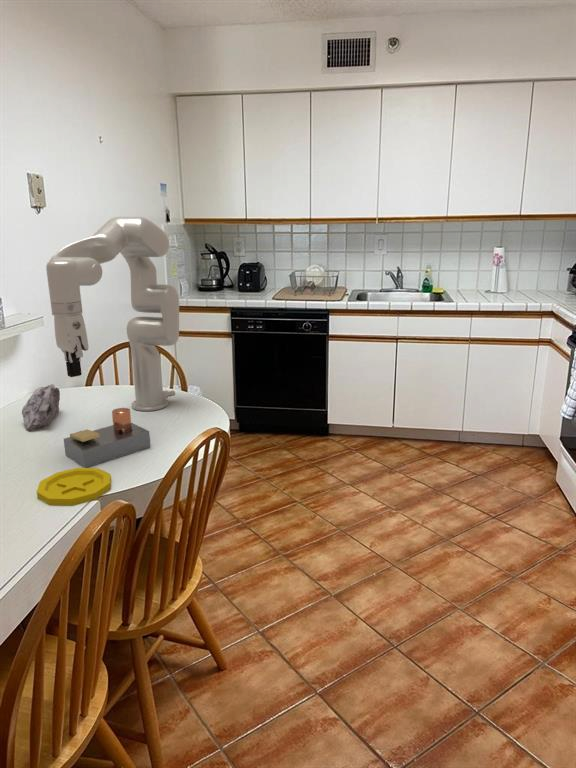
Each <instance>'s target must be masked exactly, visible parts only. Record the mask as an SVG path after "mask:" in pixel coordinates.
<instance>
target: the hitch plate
mask: <svg viewBox="0 0 576 768" xmlns="http://www.w3.org/2000/svg"><path fill="white" fill-rule="evenodd" d="M131 426H132V430H131V431H130V432H127V433H122V434H119V433H115V432H114V427H113V424H112V425H109V426H105V427H102V428H98V429H94V430H93V431H94V432H97V433H99V435H100V437H98V438H94V439H91V440H87V441H84V442H82V441H79V440H76V439H74V438H71V437H70V436H69V437H66V438H63V446H64V453H65V456H66V457H68V458H69V459H70V458H71V460H72V461H73V460H74V461H73V462H75V463H77V464H78V465H79V466H81V468H91V467H93V466H96V465H99V464H102V463H105V462H109V461H112V460H116V459H119V458H122V457H125V456H128V455H131V454H135V453H137V452H141V451H143V450H146V449H151V438H150V436H151V435H150V430H148V429H146V428H143V427H142V426H139V425H138V424H135V423H133V422H131Z"/></svg>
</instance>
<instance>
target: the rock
mask: <svg viewBox="0 0 576 768" xmlns="http://www.w3.org/2000/svg"><path fill="white" fill-rule="evenodd" d="M60 392H61V391H60V389H59V388H58V387H55V384H48V385H47V386H39V387H37V388H35V390H34V391H33V393H32V394H31V395H30V397H29V398H28V399H27V402H26V403H25V405H24V406H23V407H22V409H21V415H22V418H23V424H24V428H25V430H26V431H33V430H37V429H39V428H41V427H48V426H49V425H50V424H51V422H52V421H53V420H54V419H55V418H56V416H57V414H59V411H60V400H61V398H60V397H61V393H60Z"/></svg>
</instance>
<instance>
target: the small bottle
mask: <svg viewBox="0 0 576 768" xmlns="http://www.w3.org/2000/svg"><path fill="white" fill-rule="evenodd" d="M111 416H112V425H113V427H114V432H115V433H119V434H122V433H127V432H130V431H131V430H132V426H131V423H132V417H131V409H130V408H128V407H118V408H115V409H114V408H113V410H111Z"/></svg>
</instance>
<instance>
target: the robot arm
mask: <svg viewBox="0 0 576 768" xmlns="http://www.w3.org/2000/svg"><path fill="white" fill-rule="evenodd" d="M169 241H170V240H169V237H168V235H167V233H166V232H165V231H164V230H163V229H162V228H160V226H157V224H156V223H154V222H153V221H152V220H149V219H148V218H145V217H143V216H117V217H116V216H115V217H113V218H110V219H109V220H107V221H106V222H105V223H104V224H103V225H102V226H101V227H100V228H99V229H97V231H95V233H94V234H92V235H90V236H88V237H86V238H82V239H80V240H78V241H75V242H72V243H70V244H68V245H66V246H64V247H61V249H59V250H58V251H57V252H56V253H55V254H54V255H53V256H51V258H50V259H49V261H48V262H47V263H46V277H47V284H48V292H49V293H48V294H49V301H50V309H51V315H52V316H53V318H54V319H53V321H54V322H53V323H54V324H53V325H54V336H55V342H56V347H57V348H59V349H60V351H61V352H62V353H63V356H64V361H65V364H66V372H67V373H66V375H67V376H68V377H70V378H75V377H80V376H82V367H81V366H82V365H81V358H83V357H84V353H83V351H84V352H87V351H88V350H89V349H90V348H89V342H88V333H87V328H86V324H85V320H84V316H83V306H82V305H83V304H82V298H81V297H82V295H81V288H80V287H81V286H82V287H83V286H85V287H86V286H89V287H91V286H95V285H97V284H98V283H99V282H100V281H101V279H102V277H103V268H102V265H101V264H104V263H105V264H106V263H108V262H111V261H112V260H114V259H115V258H116V257H117V256H118V255H119V253H120V254H121V255H122V257H123V258H124V260H125V261H126V263H127V265H128V268H129V273H130V302H131V307H132V309H133V310H134V311H136V312H137V313H143V314H144V313H145V314H148V313H149V314H161V316H162V317H161V316H160V317H159V316H157V317H156V316H136V317H133V318H131V319H130V320H129V321H128V322H127V324H126V335H127V339H128V343H129V345H130V352H131V358H132V359H131V360H132V361H131V362H132V369H133V370H132V372H133V382H134V383H133V385H134V395H135V400H133V401H132V402H131V408H132V409H133V410H136V411H139V412H140V411H141V412H150V411H157V410H162V409H164V408H166V407H167V406H169V401H168V397H170V398H171V397H174V396H175V395H176V391H175V390H170V391H168V390H164V389H163V386H164V385H163V376H162V375H163V372H162V361H161V360H162V359H161V354H160V352H159V350H158V349H157V347H156V346H162V347H163V346H164V347H165V346H166V347H167V346H168V347H169V346H170V347H171V346H174V345H176V344H177V342H178V341H179V337H180V336H179V335H180V299H179V298H180V297H179V294H178V291H177V289H176V288H175V287H174V286H172V285H169V284H158V279H157V268H156V265H155V264H154V262H153V261H152V260H151V258H161V257H164V256H165V255H167V254H168V251H169V248H170V242H169Z"/></svg>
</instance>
